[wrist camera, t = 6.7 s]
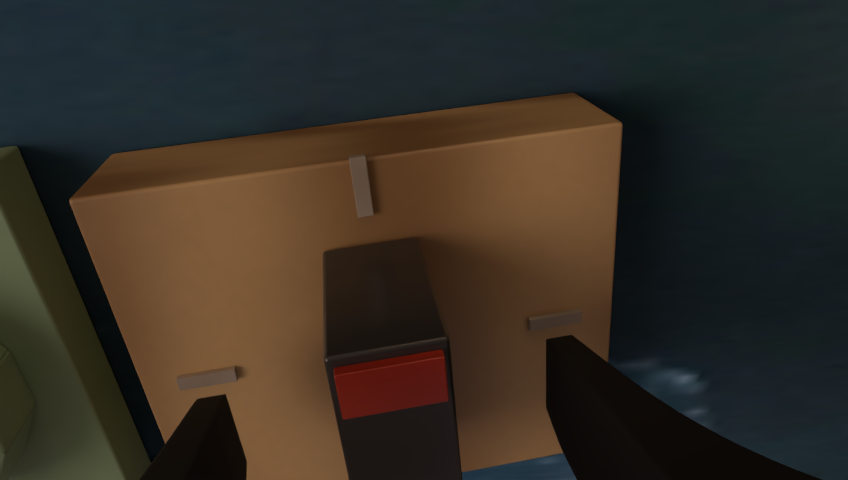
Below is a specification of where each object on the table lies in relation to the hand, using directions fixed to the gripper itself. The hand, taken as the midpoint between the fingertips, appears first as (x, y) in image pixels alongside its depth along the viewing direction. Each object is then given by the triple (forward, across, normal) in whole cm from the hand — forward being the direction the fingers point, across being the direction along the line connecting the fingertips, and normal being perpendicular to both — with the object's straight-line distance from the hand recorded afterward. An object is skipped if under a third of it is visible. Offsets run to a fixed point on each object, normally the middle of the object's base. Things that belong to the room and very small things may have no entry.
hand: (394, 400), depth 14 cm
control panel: (+5, 0, 0) cm, 5 cm away
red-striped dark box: (+2, 0, 0) cm, 2 cm away
